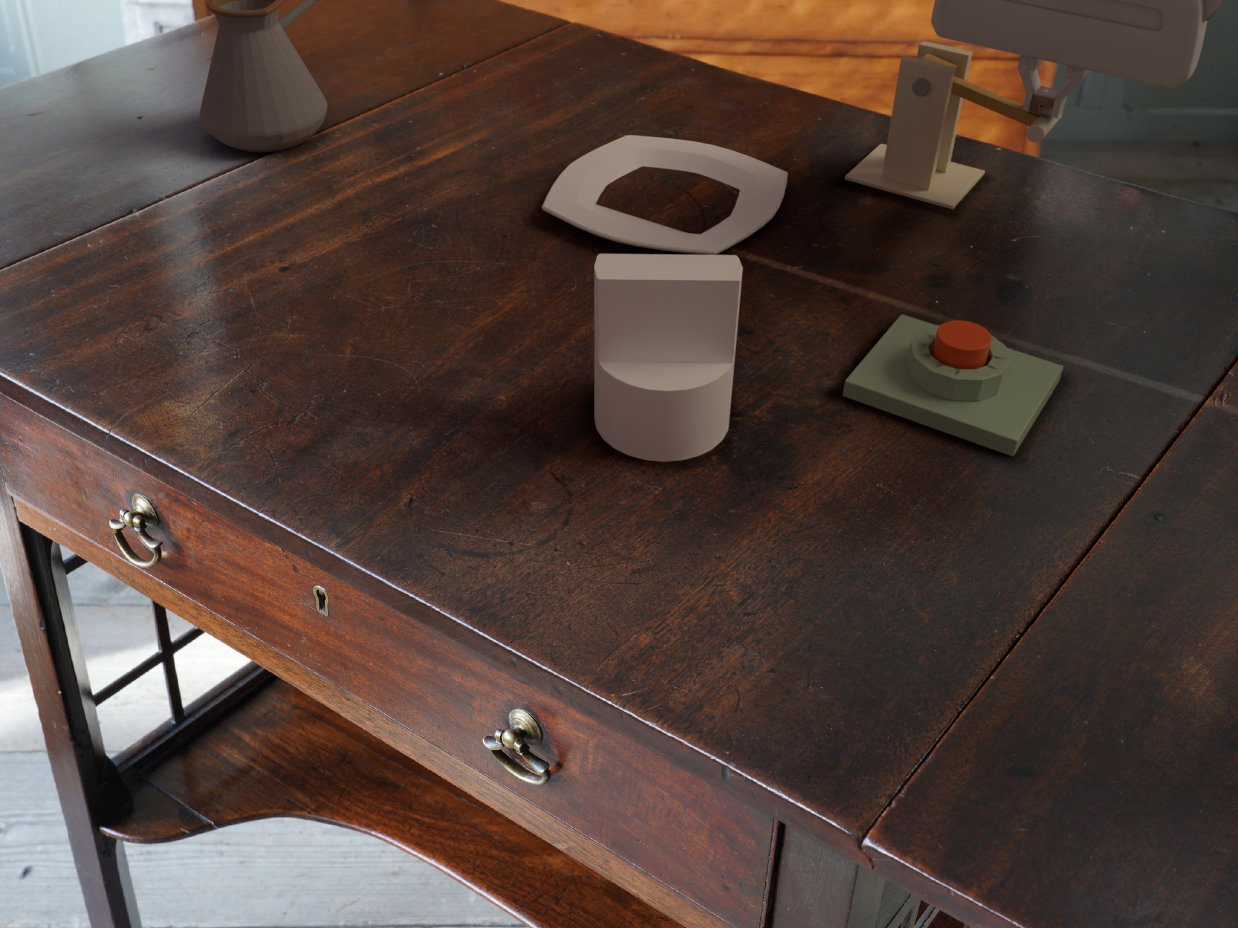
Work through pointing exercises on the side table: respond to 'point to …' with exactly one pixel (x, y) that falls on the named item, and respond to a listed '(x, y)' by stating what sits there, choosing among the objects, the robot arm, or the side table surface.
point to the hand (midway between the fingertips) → (1042, 112)
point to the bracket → (923, 133)
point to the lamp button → (962, 345)
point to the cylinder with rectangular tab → (664, 351)
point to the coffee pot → (259, 79)
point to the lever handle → (999, 104)
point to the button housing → (954, 387)
